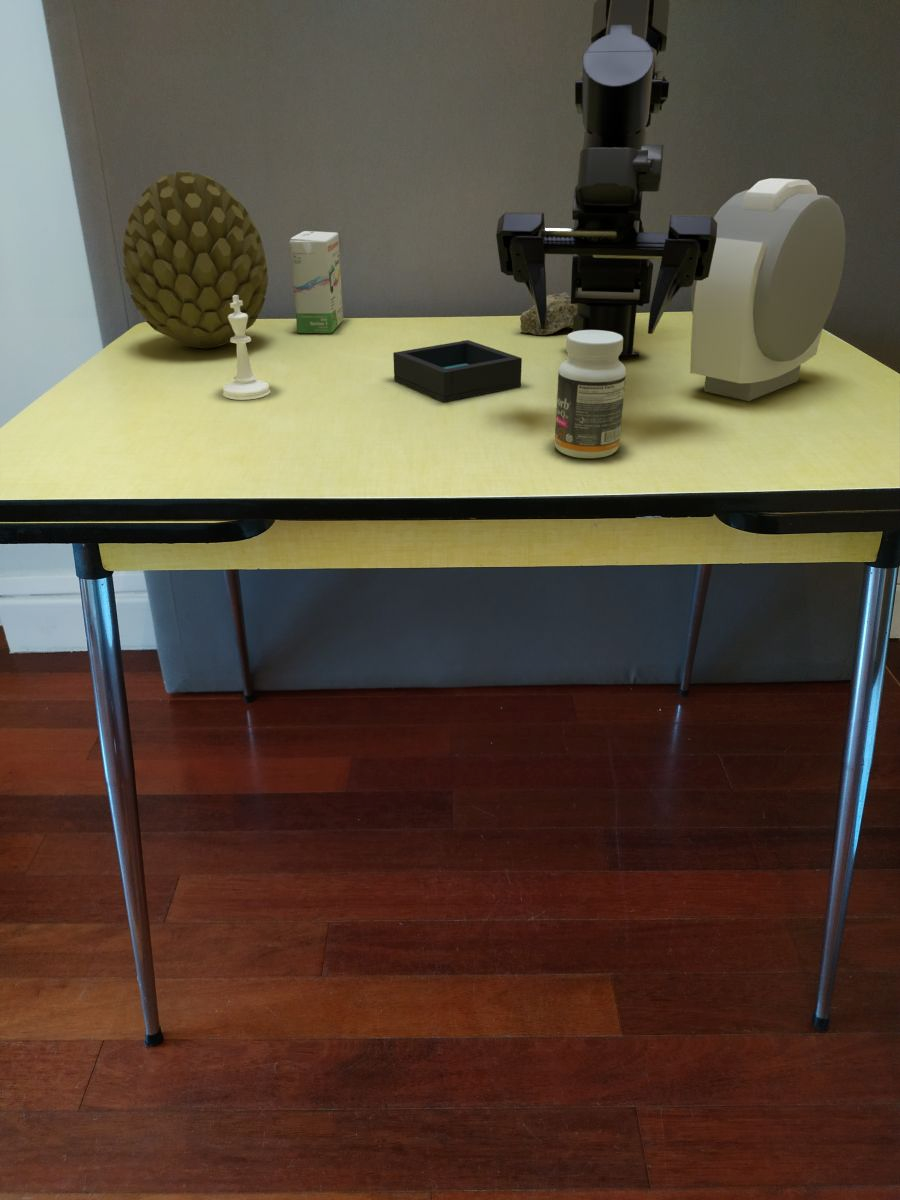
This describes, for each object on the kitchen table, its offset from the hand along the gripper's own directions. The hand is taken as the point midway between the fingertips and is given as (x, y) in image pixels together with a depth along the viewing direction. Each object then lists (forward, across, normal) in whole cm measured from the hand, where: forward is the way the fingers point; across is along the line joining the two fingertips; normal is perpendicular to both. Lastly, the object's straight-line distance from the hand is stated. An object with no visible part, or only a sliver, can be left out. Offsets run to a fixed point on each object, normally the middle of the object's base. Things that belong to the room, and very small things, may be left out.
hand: (596, 329), depth 78 cm
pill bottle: (+9, 0, +5) cm, 10 cm away
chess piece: (+1, -36, +13) cm, 39 cm away
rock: (-24, -8, +38) cm, 46 cm away
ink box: (-22, -39, +36) cm, 57 cm away
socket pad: (-4, -15, +18) cm, 24 cm away
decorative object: (-12, -50, +26) cm, 58 cm away
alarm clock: (-7, +16, +21) cm, 28 cm away
